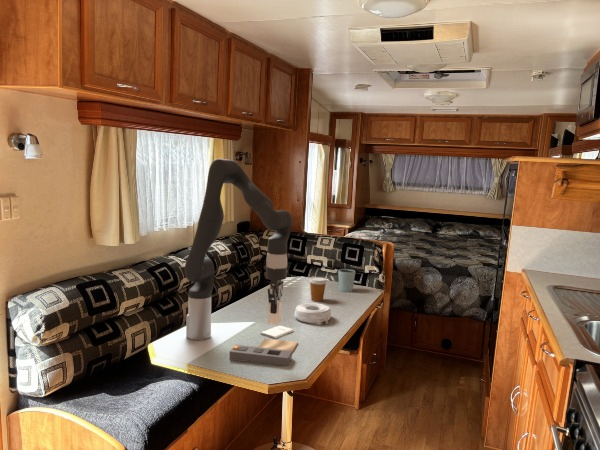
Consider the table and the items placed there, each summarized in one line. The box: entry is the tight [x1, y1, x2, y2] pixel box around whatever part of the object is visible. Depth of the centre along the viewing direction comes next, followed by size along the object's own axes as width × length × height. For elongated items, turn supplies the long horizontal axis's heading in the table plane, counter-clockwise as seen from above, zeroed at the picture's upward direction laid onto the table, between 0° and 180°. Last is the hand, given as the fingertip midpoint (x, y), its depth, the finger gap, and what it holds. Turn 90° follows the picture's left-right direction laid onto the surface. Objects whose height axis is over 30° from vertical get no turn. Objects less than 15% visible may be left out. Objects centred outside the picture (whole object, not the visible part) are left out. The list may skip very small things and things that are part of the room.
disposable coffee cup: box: [308, 276, 327, 303], centre depth 252 cm, size 10×10×12 cm
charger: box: [267, 299, 283, 326], centre depth 168 cm, size 4×4×10 cm
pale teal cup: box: [337, 268, 356, 293], centre depth 276 cm, size 10×10×12 cm
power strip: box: [229, 344, 293, 367], centre depth 171 cm, size 22×7×4 cm, turn 78°
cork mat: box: [257, 338, 299, 353], centre depth 185 cm, size 14×10×1 cm
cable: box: [293, 302, 332, 326], centre depth 221 cm, size 18×18×6 cm
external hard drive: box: [260, 325, 294, 340], centre depth 200 cm, size 2×8×12 cm
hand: (275, 311), depth 169 cm, fingers closed on charger, 3 cm apart
